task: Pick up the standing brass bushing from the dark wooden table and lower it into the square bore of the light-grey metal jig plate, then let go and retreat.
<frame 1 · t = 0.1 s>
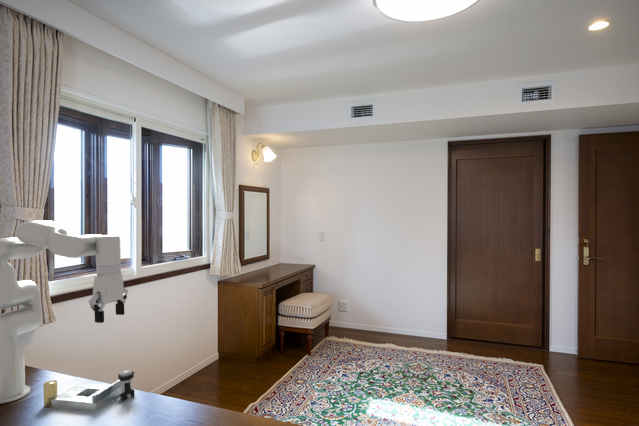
hand: (110, 318, 134), 31 cm above the table, fingers open, 9 cm apart
bushing: (50, 405, 135), on the table
push button: (125, 399, 138), on the table
jig: (88, 400, 138), on the table
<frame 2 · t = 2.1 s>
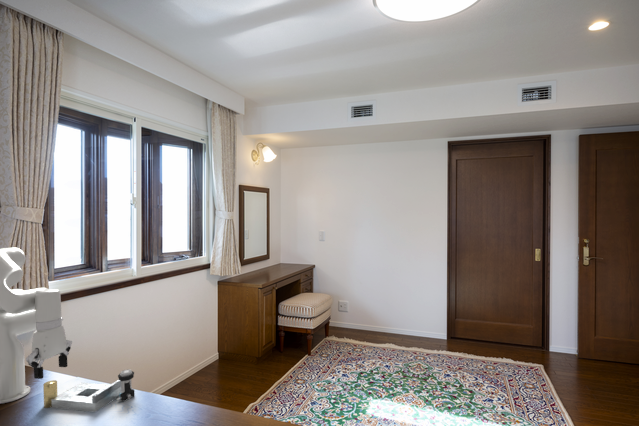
hand: (51, 372, 135), 12 cm above the table, fingers open, 9 cm apart
nothing on the table moved.
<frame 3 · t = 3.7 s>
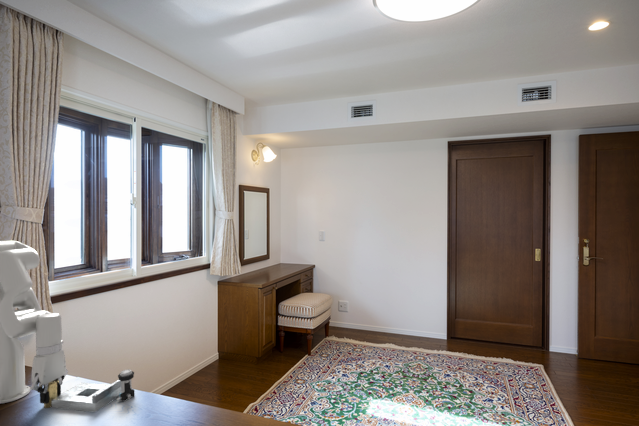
hand: (50, 399, 135), 2 cm above the table, fingers closed on bushing, 4 cm apart
bushing: (50, 405, 135), on the table, touching gripper
everything else where it was.
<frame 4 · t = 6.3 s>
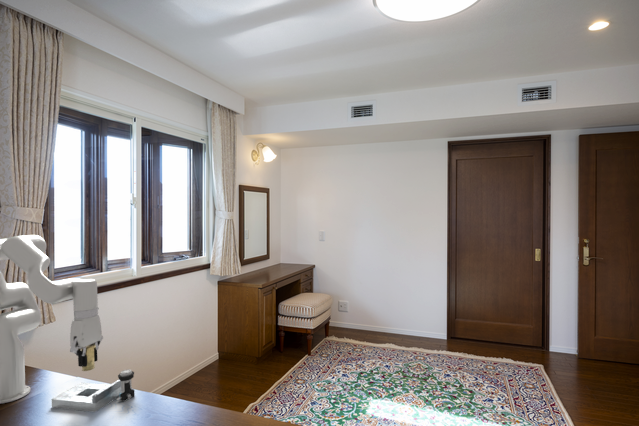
hand: (88, 363, 138), 14 cm above the table, fingers closed on bushing, 4 cm apart
bushing: (88, 368, 138), point 12 cm above the table, touching gripper
everything else where it was.
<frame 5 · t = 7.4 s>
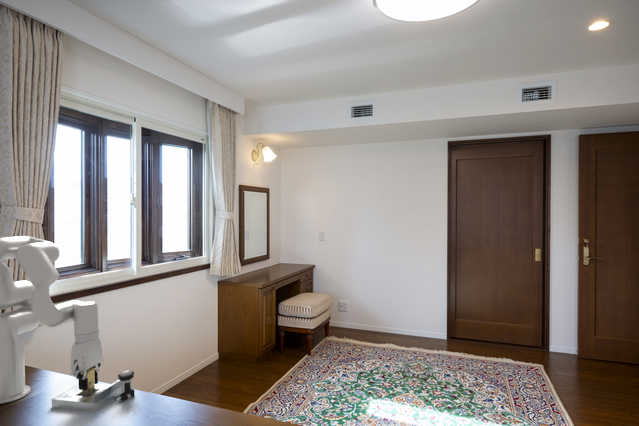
hand: (88, 385, 138), 5 cm above the table, fingers closed on bushing, 4 cm apart
bushing: (88, 391, 138), point 3 cm above the table, touching gripper
everything else where it was.
when the fingers open (4 cm above the table, at t = 8.4 s): bushing drops 1 cm, resting in jig.
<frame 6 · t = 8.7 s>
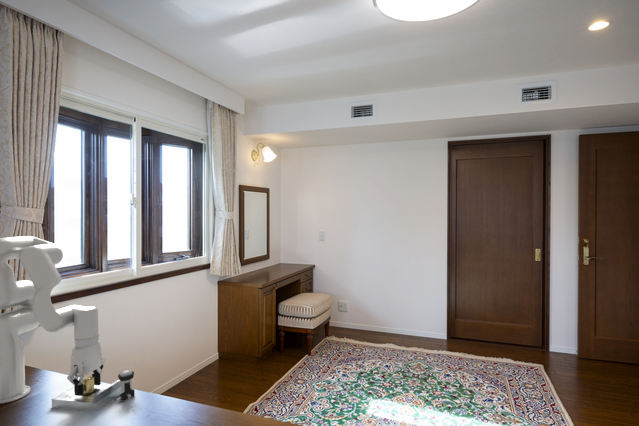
hand: (87, 389, 138), 4 cm above the table, fingers open, 7 cm apart
bushing: (88, 400, 138), resting in jig
everything else where it was.
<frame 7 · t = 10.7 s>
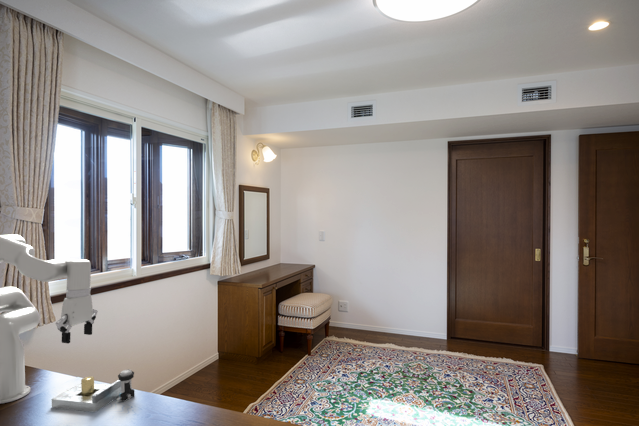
hand: (77, 338, 141), 22 cm above the table, fingers open, 9 cm apart
nothing on the table moved.
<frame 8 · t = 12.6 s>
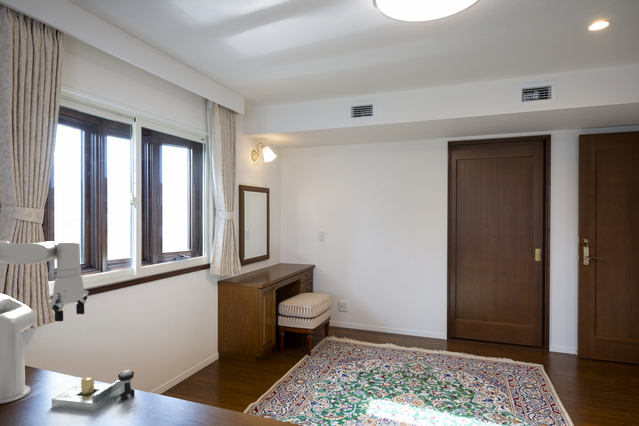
hand: (70, 317, 146), 28 cm above the table, fingers open, 9 cm apart
nothing on the table moved.
at the end: bushing 0.0 cm off-centre on the jig, point 0.0 cm above the jig's base; bushing tilted 0°; the gripper is holding nothing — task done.
